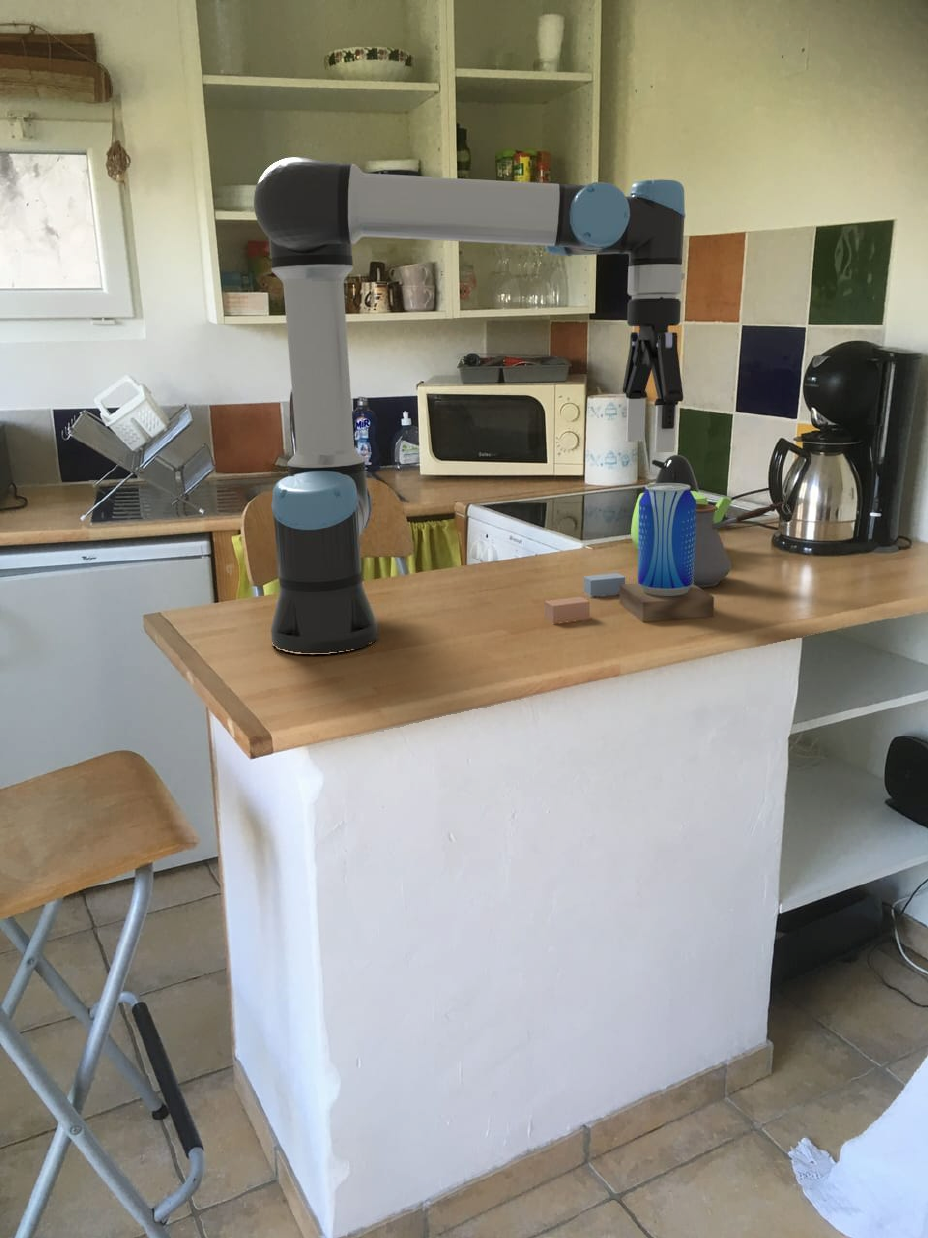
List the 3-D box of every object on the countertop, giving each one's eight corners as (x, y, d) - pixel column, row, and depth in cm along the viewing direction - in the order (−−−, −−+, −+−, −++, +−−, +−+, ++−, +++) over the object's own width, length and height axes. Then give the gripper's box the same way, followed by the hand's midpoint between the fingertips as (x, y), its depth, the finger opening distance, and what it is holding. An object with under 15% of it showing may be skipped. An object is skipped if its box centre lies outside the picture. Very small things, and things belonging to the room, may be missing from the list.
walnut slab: (642, 621, 150) (643, 602, 150) (619, 603, 161) (619, 584, 160) (713, 616, 152) (714, 596, 151) (685, 597, 162) (686, 579, 162)
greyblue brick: (590, 598, 165) (590, 580, 164) (583, 594, 168) (583, 576, 167) (624, 595, 166) (625, 577, 165) (617, 590, 169) (617, 573, 168)
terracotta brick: (552, 625, 151) (552, 606, 150) (544, 620, 154) (544, 601, 153) (589, 620, 153) (589, 601, 152) (580, 615, 155) (580, 596, 155)
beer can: (689, 599, 150) (693, 491, 146) (633, 595, 153) (634, 490, 149) (696, 585, 158) (700, 482, 154) (642, 582, 161) (644, 481, 156)
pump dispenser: (643, 522, 223) (645, 453, 219) (690, 520, 224) (692, 450, 220) (657, 531, 214) (659, 458, 209) (705, 529, 215) (708, 456, 210)
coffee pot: (648, 584, 172) (649, 496, 167) (681, 571, 180) (684, 486, 176) (768, 603, 158) (773, 507, 154) (798, 587, 166) (804, 496, 162)
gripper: (712, 294, 135) (704, 455, 141) (651, 299, 158) (646, 436, 164) (657, 295, 134) (651, 457, 140) (604, 299, 157) (601, 438, 163)
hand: (649, 446), depth 152 cm, fingers open, 13 cm apart
